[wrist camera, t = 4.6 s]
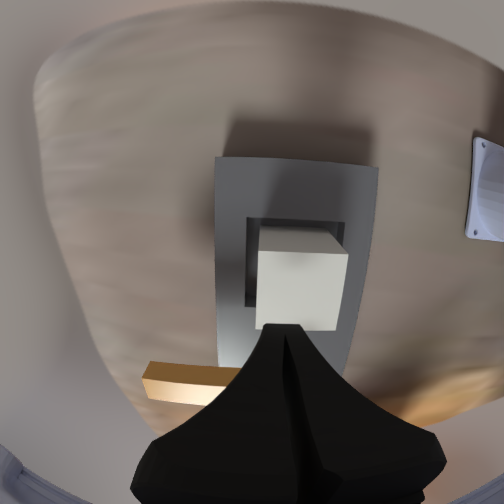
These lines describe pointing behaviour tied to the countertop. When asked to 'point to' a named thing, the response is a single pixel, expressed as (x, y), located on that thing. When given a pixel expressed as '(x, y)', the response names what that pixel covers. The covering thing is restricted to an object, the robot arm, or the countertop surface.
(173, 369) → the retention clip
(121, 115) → the countertop surface
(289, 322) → the plug
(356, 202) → the grey recessed block
